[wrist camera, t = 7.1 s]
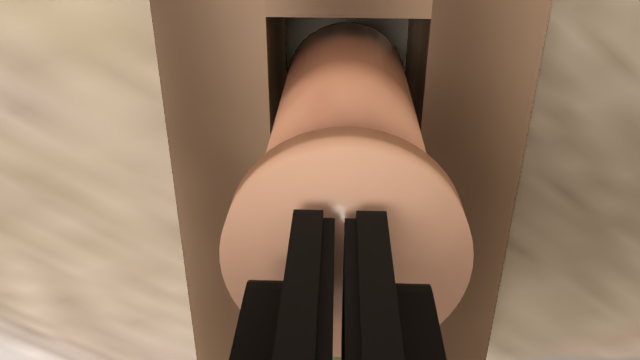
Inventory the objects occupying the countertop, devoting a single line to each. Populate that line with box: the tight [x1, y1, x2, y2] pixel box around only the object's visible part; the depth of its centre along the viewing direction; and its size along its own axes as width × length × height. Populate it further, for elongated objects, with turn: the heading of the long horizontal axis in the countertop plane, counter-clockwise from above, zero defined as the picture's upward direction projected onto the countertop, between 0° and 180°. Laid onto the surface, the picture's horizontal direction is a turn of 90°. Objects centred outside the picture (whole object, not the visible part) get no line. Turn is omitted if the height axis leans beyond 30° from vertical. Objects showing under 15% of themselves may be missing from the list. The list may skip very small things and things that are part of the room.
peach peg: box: [219, 22, 474, 357], centre depth 16 cm, size 5×5×10 cm
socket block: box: [150, 0, 552, 360], centre depth 24 cm, size 12×18×6 cm, turn 0°
